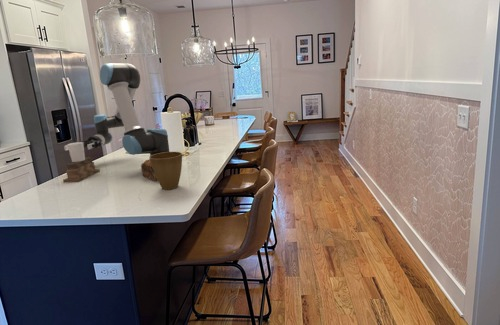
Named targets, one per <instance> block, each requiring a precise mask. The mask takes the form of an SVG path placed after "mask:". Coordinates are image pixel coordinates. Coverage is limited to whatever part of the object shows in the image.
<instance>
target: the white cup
mask: <svg viewBox="0 0 500 325" xmlns="http://www.w3.org/2000/svg"><path fill="white" fill-rule="evenodd" d="M67 144H68V148H69V150H68V151H69V156H70V159H71V163H72V162H79V161H84V160H85V157H86V155H85V147H84V146H85V145H83V142H80V141H76V142H71V143H67Z"/></svg>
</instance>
